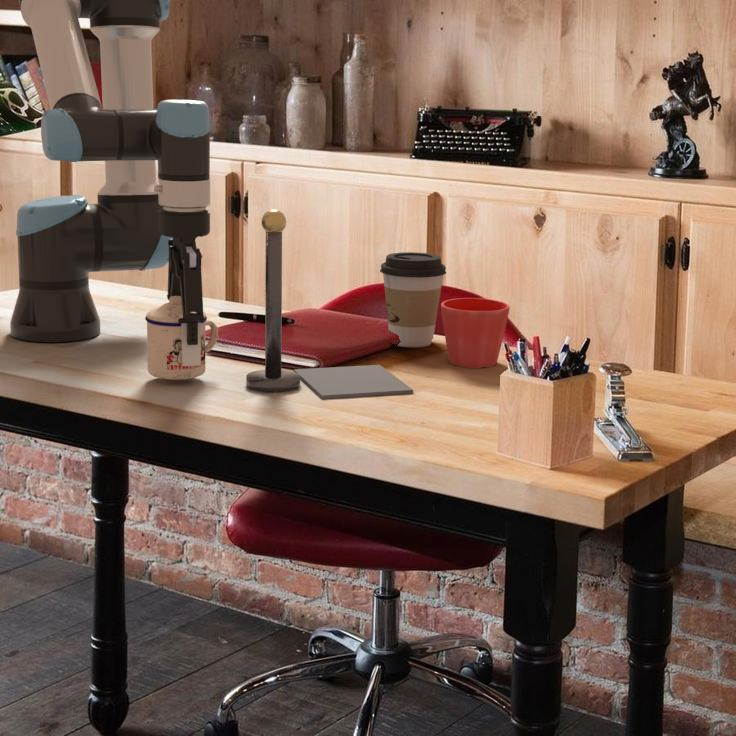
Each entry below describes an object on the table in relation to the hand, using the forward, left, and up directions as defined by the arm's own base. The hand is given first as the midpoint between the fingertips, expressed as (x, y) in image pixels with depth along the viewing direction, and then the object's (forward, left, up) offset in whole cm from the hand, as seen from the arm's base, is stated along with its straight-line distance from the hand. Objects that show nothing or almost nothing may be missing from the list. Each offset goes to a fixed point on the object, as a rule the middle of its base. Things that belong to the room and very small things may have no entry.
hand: (185, 357), depth 201 cm
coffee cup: (-17, +42, -4) cm, 45 cm away
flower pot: (-1, +47, -4) cm, 47 cm away
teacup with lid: (-1, 0, -3) cm, 3 cm away
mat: (+7, +24, -3) cm, 25 cm away
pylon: (+6, +12, -3) cm, 14 cm away
